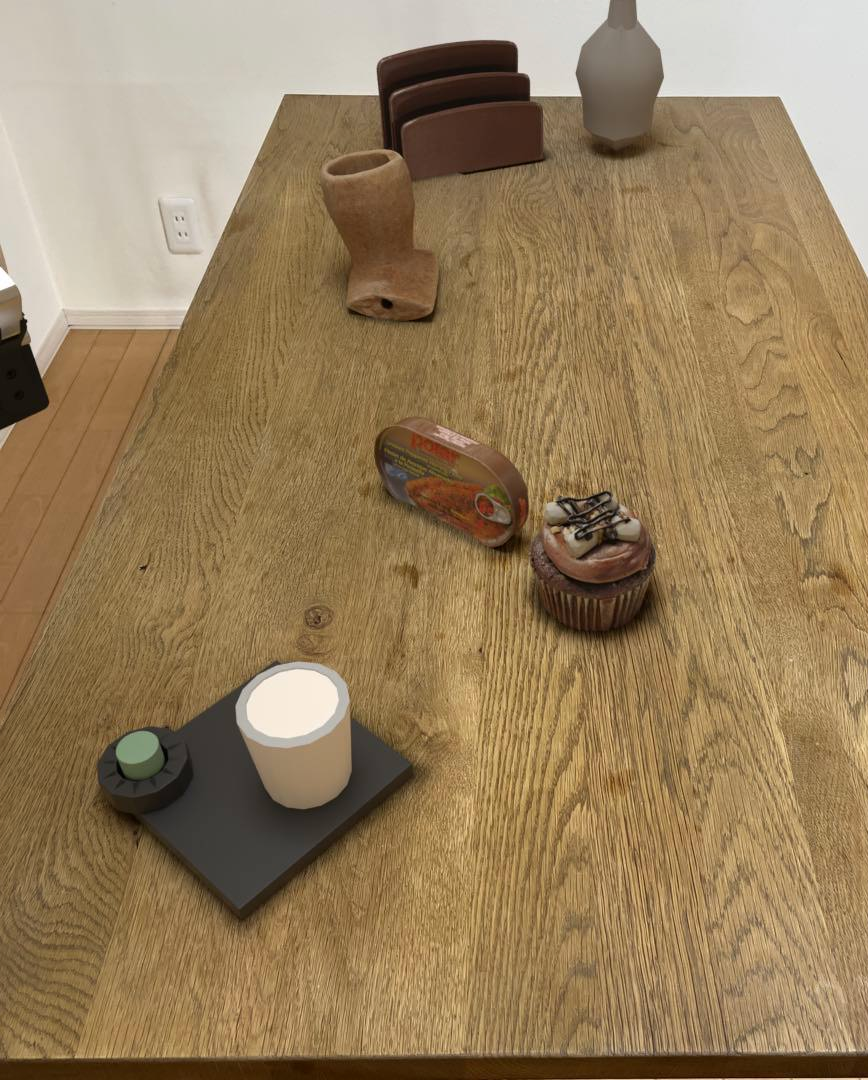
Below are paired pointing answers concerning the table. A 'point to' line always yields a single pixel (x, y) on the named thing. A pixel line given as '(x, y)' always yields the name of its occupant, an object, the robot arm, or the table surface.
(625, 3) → the bottle
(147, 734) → the button
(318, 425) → the table surface
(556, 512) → the cupcake
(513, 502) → the tin
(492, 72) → the letter holder
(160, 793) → the scale
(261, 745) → the white cup
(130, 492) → the table surface
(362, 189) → the clay boot vessel
